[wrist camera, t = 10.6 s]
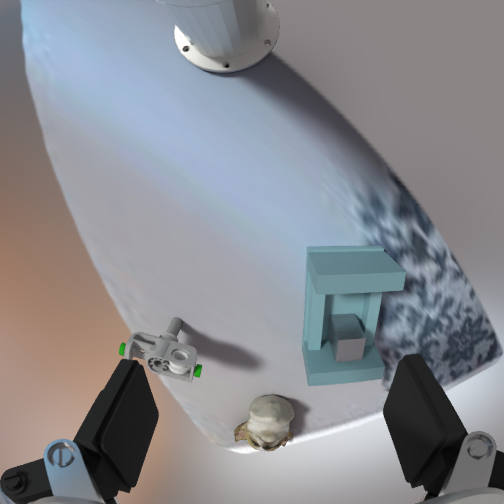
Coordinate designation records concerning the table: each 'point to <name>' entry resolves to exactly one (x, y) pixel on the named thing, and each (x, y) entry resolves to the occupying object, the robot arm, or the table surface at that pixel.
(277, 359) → the table surface
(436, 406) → the robot arm
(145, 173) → the table surface
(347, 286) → the teal open frame
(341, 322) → the brushed grey metal block
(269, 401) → the ceramic sculpture
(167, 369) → the mechanical component
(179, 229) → the table surface
